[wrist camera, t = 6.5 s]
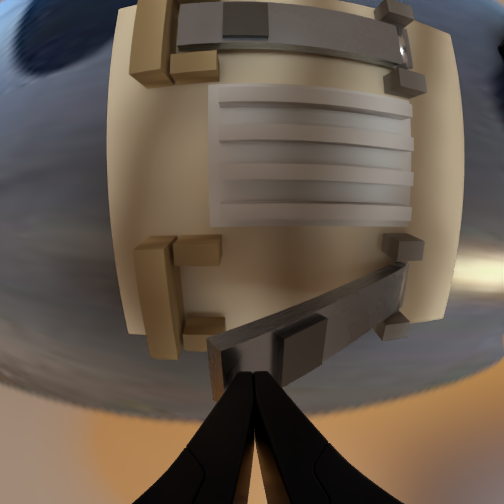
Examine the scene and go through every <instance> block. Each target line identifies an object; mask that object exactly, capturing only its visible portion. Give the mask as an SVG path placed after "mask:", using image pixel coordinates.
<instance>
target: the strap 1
mask: <svg viewBox="0 0 504 504" xmlns="http://www.w3.org/2000/svg"><path fill="white" fill-rule="evenodd" d="M177 47H178V49H179V51H180V52H184V51H196V50H213V49H267V50H285V51H297V52H307V53H315V54H323V55H330V56H337V57H343V58H349V59H354V60H359V61H364V62H369V63H373V64H378V65H382V66H386V67H390V68H394V70H395V69H397V68H402V69H406V70H410V69H412V68H413V63H412V56H411V50H410V44H409V38H408V33H407V29H404V28H403V26H402V25H400V24H389V23H385V22H382V21H378V20H375V19H371V18H367V17H363V16H359V15H355V14H350V13H346V12H341V11H336V10H330V9H325V8H319V7H312V6H304V5H296V4H286V3H274V2H254V1H221V2H201V3H189V4H180V14H179V25H178V38H177Z"/></svg>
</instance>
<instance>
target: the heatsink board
mask: <svg viewBox="0 0 504 504" xmlns="http://www.w3.org/2000/svg"><path fill="white" fill-rule="evenodd" d="M221 1H254V2H274V3H286V4H296V5H304V6H312V7H319V8H325V9H330V10H336V11H341V12H346V13H350V14H355V15H359V16H363V17H367V18H371V19H375V20H378V21H382V22H385V23H389V24H400V25H402V26H403V28H404V29H407V33H408V38H409V44H410V50H411V56H412V63H413V68H412V69H410V70H406V69H402V68H397V69H395V70H394V68H390V67H386V66H382V65H378V64H373V63H369V62H364V61H359V60H354V59H349V58H343V57H337V56H330V55H323V54H315V53H307V52H297V51H285V50H267V49H213V50H196V51H184V52H180V51H179V49H178V47H177V38H178V25H179V14H180V4H189V3H201V2H221ZM414 20H415V18H414V14H413V10H412V6H410V5H407V4H404V3H401V2H398V1H395V0H383V2H382V3H381V4H380V5H379V6H378V7H377V8H376V9H375V8H371V7H367V6H362V5H358V4H353V3H348V2H343V1H338V0H138V3H137V5H134V6H130V7H126V8H122V9H119V12H118V18H117V23H116V29H115V36H114V43H113V50H112V59H111V68H110V79H109V92H108V111H107V175H108V195H109V209H110V220H111V230H112V239H113V248H114V256H115V263H116V270H117V276H118V282H119V288H120V294H121V299H122V305H123V310H124V315H125V319H126V324H127V329H128V333H129V334H141V335H146V338H147V343H148V347H149V352H150V356H151V358H152V359H168V360H178V359H179V356H180V353H181V349H182V346H183V343H184V348H185V351H207V342H206V338H208V337H210V336H213V335H216V334H219V333H222V332H225V331H228V330H231V329H233V328H236V327H239V326H242V325H245V324H247V323H250V322H253V321H255V320H258V319H261V318H263V317H266V316H269V315H271V314H274V313H277V312H279V311H282V310H284V309H287V308H289V307H292V306H295V305H297V304H300V303H302V302H304V301H307V300H309V299H312V298H314V297H317V296H319V295H322V294H324V293H326V292H329V291H331V290H333V289H336V288H338V287H340V286H343V285H345V284H347V283H350V282H352V281H354V280H356V279H359V278H361V277H363V276H365V275H368V274H370V273H372V272H374V271H376V270H379V269H381V268H383V267H385V266H387V265H389V264H391V263H392V260H395V261H397V262H399V261H407V262H408V264H409V271H408V277H407V283H406V289H405V294H404V299H403V304H402V307H401V308H400V310H399V312H398V313H393V314H392V315H390V316H389V317H388V318H386V319H385V320H384V321H382V322H381V323H379V324H378V325H377V326H375V327H374V328H373V329H374V330H375V332H376V333H377V334H378V336H379V337H380V338H381V340H382V341H385V340H392V339H399V338H405V337H407V333H408V330H409V325H410V324H411V323H418V322H424V321H430V320H436V319H442V318H443V316H444V312H445V308H446V304H447V300H448V296H449V292H450V287H451V282H452V277H453V272H454V267H455V261H456V255H457V249H458V242H459V234H460V226H461V217H462V205H463V190H464V129H463V114H462V103H461V94H460V86H459V79H458V72H457V66H456V61H455V55H454V50H453V46H452V41H451V37H450V34H447V33H445V32H443V31H440V30H438V29H435V28H433V27H430V26H428V25H425V24H422V23H420V22H417V21H414Z"/></svg>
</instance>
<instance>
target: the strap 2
mask: <svg viewBox="0 0 504 504" xmlns="http://www.w3.org/2000/svg"><path fill="white" fill-rule="evenodd" d="M408 271H409V264H408V262H407V261H399V262H397V261H395V260H392V263H391V264H389V265H387V266H385V267H383V268H381V269H379V270H376V271H374V272H372V273H370V274H368V275H365V276H363V277H361V278H359V279H356V280H354V281H352V282H350V283H347V284H345V285H343V286H340V287H338V288H336V289H333V290H331V291H329V292H326V293H324V294H322V295H319V296H317V297H314V298H312V299H309V300H307V301H304V302H302V303H300V304H297V305H295V306H292V307H289V308H287V309H284V310H282V311H279V312H277V313H274V314H271V315H269V316H266V317H263V318H261V319H258V320H255V321H253V322H250V323H247V324H245V325H242V326H239V327H236V328H233V329H231V330H228V331H225V332H222V333H219V334H216V335H213V336H210V337H208V338H206V342H207V352H208V361H209V370H210V378H211V387H212V395H213V400H214V401H215V402H216V403H217V402H218V401H219V399H220V398H221V396H222V395H223V393H224V392H225V391H226V389H227V388H228V386H229V385H230V383H231V382H232V380H233V379H234V377H235V376H236V374H237V373H238V372H239V371H251V372H252V373H253V372H254V371H268V372H269V373H270V374H271V376H272V377H273V378H274V379H275V381H276V382H277V383H278V384H279V385H280V387H281V388H282V387H284V386H286V385H288V384H289V383H291V382H293V381H295V380H296V379H298V378H300V377H302V376H303V375H305V374H307V373H308V372H310V371H312V370H313V369H315V368H317V367H318V366H320V365H322V362H323V361H324V360H326V359H327V358H329V357H331V356H332V355H334V354H335V353H337V352H338V351H340V350H342V349H343V348H345V347H346V346H348V345H349V344H351V343H352V342H354V341H355V340H357V339H358V338H360V337H361V336H362V335H364V334H365V333H367V332H368V331H370V330H371V329H372V328H374V327H375V326H377V325H378V324H379V323H381V322H382V321H384V320H385V319H386V318H388V317H389V316H390V315H392V314H393V313H398V312H399V310H400V308H401V307H402V304H403V299H404V294H405V289H406V283H407V277H408Z"/></svg>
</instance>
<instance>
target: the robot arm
mask: <svg viewBox="0 0 504 504" xmlns="http://www.w3.org/2000/svg"><path fill="white" fill-rule="evenodd" d="M499 50H500V52H501V54H502V56H503V57H504V41H503V42H502V43H501V45H500V46H499ZM254 428H255V431H254ZM254 440H255V442H256V449H257V454H258V459H259V464H260V469H261V474H262V479H263V484H264V489H265V493H266V498H267V503H268V504H404V503H402V502H400V501H399V500H397V499H396V498H394V497H393V496H392V495H390V494H389V493H387V492H386V491H384V490H383V489H382V488H380V487H379V486H378V485H376V484H375V483H373V482H372V481H371V480H369V479H368V478H367V477H366V476H364V475H363V474H362V473H361V472H359V471H358V470H357V469H356V468H355V467H353V466H352V465H351V464H350V463H349V462H347V460H346V459H345V458H344V457H342V455H341V454H340V453H339V452H338V451H337V450H336V449H335V448H334V447H333V446H332V445H331V444H330V443H328V441H327V440H326V438H325V437H324V436H323V435H322V434H321V433H320V432H319V431H318V430H317V429H316V427H315V426H314V425H313V424H312V423H311V422H310V420H309V419H308V418H307V417H306V416H305V415H304V414H303V412H302V411H301V410H300V409H299V408H298V407H297V406H296V404H295V403H294V402H293V401H292V400H291V398H290V397H289V396H288V395H287V394H286V393H285V391H284V390H283V389H282V388H281V387H280V385H279V384H278V383H277V382H276V381H275V379H274V378H273V377H272V376H271V374H270V373H269V372H268V371H254V372H253V373H252V372H251V371H239V372H238V373H237V374H236V376H235V377H234V379H233V380H232V382H231V383H230V385H229V386H228V388H227V389H226V391H225V392H224V393H223V395H222V396H221V398H220V399H219V401H218V402H217V404H216V405H215V407H214V408H213V409H212V411H211V412H210V414H209V415H208V417H207V418H206V419H205V421H204V422H203V424H202V425H201V426H200V428H199V429H198V431H197V432H196V434H195V435H194V436H193V438H192V439H191V440H190V442H189V443H188V444H187V446H186V448H184V450H183V451H182V452H181V454H180V455H179V457H178V458H177V459H176V460H175V461H174V463H173V464H172V465H171V466H170V468H169V469H168V470H167V471H166V472H165V473H164V474H163V475H162V476H161V477H160V478H159V479H158V480H157V481H156V482H155V483H154V484H153V485H152V486H151V487H150V488H149V489H148V490H147V491H146V492H144V494H142V495H141V496H140V497H139V498H138V499H137V500H135V501H134V502H133V503H132V504H247V502H248V494H249V486H250V478H251V469H252V461H253V452H254Z"/></svg>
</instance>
